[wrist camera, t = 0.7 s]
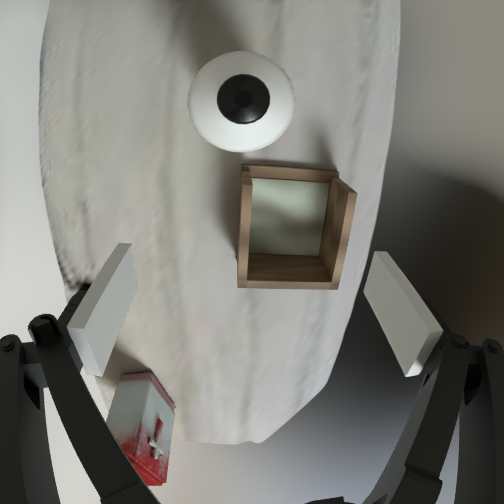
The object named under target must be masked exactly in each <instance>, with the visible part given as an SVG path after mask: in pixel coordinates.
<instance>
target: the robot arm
mask: <svg viewBox="0 0 504 504" xmlns="http://www.w3.org/2000/svg"><path fill="white" fill-rule="evenodd" d="M137 288H138V282H137V276H136V270H135V263H134V257H133V250H132V244H126V243H118V245H117V246H116V248H115V249H114V251H113V252H112V254H111V255H110V257H109V258H108V260H107V261H106V263H105V264H104V266H103V267H102V269H101V271H100V272H99V274H98V275H97V277H96V278H95V280H94V282H93V283H92V285H91V286H90V288H89V290H88V291H82V290H80V291H79V292H77V293H76V294H75V295H74V296H72V298H71V299H70V301H69V303H68V305H67V306H66V307H65V309H64V311H63V312H62V314H61V316H60V317H59V319H58V320H57V319H56V318H55V317H54V316H53V315H51V314H42V315H39V316H37V317H35V318H34V319H33V320H32V321H31V322H30V323H29V325H28V331H29V333H30V336H31V338H32V340H33V342H27V343H22V342H21V341H20V339H19V337H18V336H17V335H14V334H12V335H11V334H10V335H6V336H4V337H2V338H1V339H0V504H61V503H60V499H59V495H58V491H57V487H56V482H55V478H54V472H53V467H52V462H51V456H50V449H49V443H48V436H47V427H46V418H45V406H44V392H43V388H46V387H49V390H50V393H51V395H52V398H53V401H54V403H55V406H56V408H57V411H58V413H59V416H60V418H61V421H62V423H63V425H64V428H65V430H66V432H67V434H68V437H69V439H70V441H71V443H72V445H73V447H74V449H75V451H76V453H77V455H78V457H79V459H80V461H81V463H82V465H83V467H84V469H85V471H86V473H87V474H88V476H89V478H90V480H91V481H92V483H93V485H94V487H95V489H96V490H97V492H98V494H99V496H100V498H101V499H100V501H101V504H161V503H160V502H159V501H158V500H157V498H156V497H155V496H154V494H153V493H152V492H151V490H150V489H149V488H148V486H147V485H146V483H145V482H144V481H143V479H142V478H141V477H140V475H139V474H138V472H137V471H136V469H135V468H134V467H133V465H132V464H131V462H130V461H129V459H128V458H127V456H126V455H125V453H124V452H123V450H122V448H121V447H120V445H119V444H118V442H117V440H116V439H115V437H114V436H113V434H112V432H111V431H110V429H109V427H108V425H107V424H106V422H105V420H104V418H103V417H102V415H101V413H100V411H99V409H98V408H97V406H96V404H95V402H94V400H93V398H92V397H91V394H90V392H89V391H88V388H87V386H86V384H85V382H84V380H83V378H82V376H81V374H80V371H81V368H82V366H83V367H84V369H85V371H86V373H87V374H89V375H95V376H101V377H103V374H104V371H105V368H106V366H107V363H108V360H109V358H110V355H111V352H112V350H113V347H114V344H115V342H116V339H117V337H118V334H119V332H120V329H121V327H122V324H123V322H124V319H125V317H126V314H127V312H128V309H129V307H130V305H131V302H132V300H133V298H134V295H135V293H136V291H137ZM364 294H365V296H366V298H367V300H368V302H369V303H370V305H371V307H372V309H373V311H374V313H375V315H376V317H377V319H378V321H379V323H380V325H381V327H382V329H383V331H384V333H385V335H386V336H387V339H388V341H389V343H390V345H391V347H392V349H393V351H394V353H395V355H396V357H397V360H398V362H399V364H400V366H401V368H402V370H403V372H404V374H405V377H408V376H413V375H419V373H420V372H421V370H422V368H423V367H424V366H425V368H426V370H427V373H426V375H425V376H424V378H423V379H422V381H421V383H420V384H419V386H418V387H419V388H420V390H419V393H418V395H417V398H416V400H415V403H414V406H413V408H412V411H411V413H410V416H409V418H408V420H407V423H406V425H405V427H404V430H403V432H402V434H401V436H400V438H399V441H398V443H397V445H396V447H395V449H394V451H393V453H392V455H391V457H390V459H389V461H388V463H387V465H386V467H385V469H384V471H383V473H382V475H381V476H380V478H379V480H378V482H377V484H376V486H375V487H374V489H373V490H372V492H371V493H370V495H369V496H368V497H367V498H366V500H365V501H364V502H363V503H362V504H435V503H436V501H437V499H438V496H439V494H440V491H441V488H442V480H440V479H439V476H440V472H441V470H442V467H443V464H444V461H445V458H446V455H447V452H448V449H449V446H450V442H451V439H452V435H453V431H454V428H455V425H456V421H457V416H458V413H460V414H459V419H460V429H459V430H460V432H459V435H460V436H459V459H458V473H457V484H456V493H455V501H454V504H504V350H503V348H502V346H501V345H500V344H499V342H497V341H496V340H493V339H490V338H488V339H485V340H484V341H483V343H482V344H481V346H476V345H470V343H469V341H468V340H467V339H466V338H465V337H464V336H462V335H460V334H456V333H452V331H451V330H450V328H449V327H448V326H447V324H446V323H445V321H444V320H443V318H442V317H441V316H440V314H439V312H438V311H436V308H435V307H434V305H433V304H432V303H431V302H430V301H429V300H427V299H426V298H425V297H420V296H419V295H418V293H417V292H416V290H415V289H414V288H413V286H412V285H411V283H410V282H409V281H408V279H407V278H406V277H405V275H404V274H403V273H402V271H401V270H400V269H399V267H398V266H397V265H396V264H395V262H394V261H393V260H392V258H391V257H390V256H389V254H388V253H387V252H374V256H373V260H372V264H371V268H370V271H369V275H368V278H367V282H366V285H365V288H364ZM306 504H354V503H349V502H344V499H343V496H342V497H336V498H330V499H323V500H316V501H311V502H309V503H306Z"/></svg>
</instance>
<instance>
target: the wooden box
mask: <svg viewBox="0 0 504 504" xmlns="http://www.w3.org/2000/svg"><path fill="white" fill-rule="evenodd" d="M356 198H357V193H356V192H355V191H354V190H353V189H352V188H350V187H349V186H348V185H347V184H346V183H344V182H343V181H342V180H341V179H340V178H339V172H338V171H330V170H320V169H309V168H297V167H284V166H270V165H252V164H242V176H241V195H240V214H239V234H238V256H237V284H238V288H266V289H325V290H338V286H339V282H340V278H341V273H342V269H343V264H344V260H345V255H346V250H347V246H348V241H349V236H350V231H351V226H352V220H353V215H354V209H355V204H356Z"/></svg>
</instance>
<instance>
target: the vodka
mask: <svg viewBox="0 0 504 504" xmlns="http://www.w3.org/2000/svg"><path fill="white" fill-rule="evenodd" d="M294 110H295V94H294V88H293V86H292V83H291V81H290V78H289V77H288V75H287V74H286V73H285V71H284V70H283V68H282V67H280V66H279V65H278V64H277V63H276V62H275V61H273V60H272V59H270V58H268V57H266V56H264V55H262V54H258V53H255V52H251V51H235V52H229V53H225V54H222V55H220V56H217V57H215V58H213V59H212V60H210V61H209V62H208V63H206V64H205V65H204V66H203V67H202V68H201V69H200V70H199V71H198V73H197V74H196V76H195V77H194V79H193V81H192V83H191V86H190V89H189V93H188V111H189V116H190V119H191V121H192V123H193V125H194V127H195V129H196V130H197V131H198V132H199V134H200V135H201V136H202V137H203V138H204V139H205V140H207V141H208V142H209V143H210V144H212V145H214V146H216V147H218V148H220V149H223V150H227V151H231V152H250V151H256V150H259V149H261V148H264V147H266V146H268V145H270V144H271V143H273V142H274V141H276V140H277V139H278V138H279V137H280V136H281V135H282V134H283V133H284V132H285V130H286V129H287V127H288V125H289V124H290V122H291V120H292V117H293V114H294Z"/></svg>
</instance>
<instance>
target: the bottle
mask: <svg viewBox="0 0 504 504" xmlns="http://www.w3.org/2000/svg"><path fill="white" fill-rule="evenodd" d="M175 408H176V406H175V405H174V404H173V402H172V401H171V400H170V398H169V397H168V395H167V394H166V392H165V391H164V390H163V388H162V387H161V385H160V384H159V382H158V381H157V379H156V378H155V376H154V375H153V374H152V373H150V372H147V373H137V374H126V375H121V381H120V382H118V385H117V388H116V391H115V394H114V397H113V401H112V404H111V407H110V410H109V414H108V417H107V421H106V424H107V425H108V427H109V429H110V431H111V432H112V434H113V436H114V437H115V439H116V440H117V442H118V444H119V445H120V447H121V448H122V450H123V452H124V453H125V455H126V456H127V458H128V459H129V461H130V462H131V464H132V465H133V467H134V468H135V469H136V471H137V472H138V474H139V475H140V477H141V478H142V479H143V481H144V482H145V483H146V485H147V486H148V485H149V486H161V485H162V483H166V478H167V470H168V461H169V454H170V445H171V438H172V431H173V424H174V417H175V413H174V409H175Z"/></svg>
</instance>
